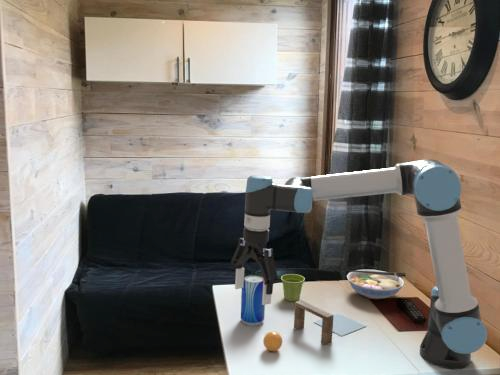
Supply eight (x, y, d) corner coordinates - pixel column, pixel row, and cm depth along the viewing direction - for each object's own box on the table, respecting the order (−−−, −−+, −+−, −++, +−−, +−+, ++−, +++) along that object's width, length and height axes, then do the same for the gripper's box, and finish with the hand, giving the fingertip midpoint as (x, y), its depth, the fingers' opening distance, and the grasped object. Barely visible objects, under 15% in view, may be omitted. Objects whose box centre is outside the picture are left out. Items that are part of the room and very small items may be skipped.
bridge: (299, 325, 184) (301, 299, 183) (331, 342, 173) (333, 315, 171) (293, 328, 182) (295, 301, 181) (325, 345, 171) (327, 317, 169)
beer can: (259, 328, 181) (261, 284, 179) (237, 324, 184) (238, 281, 181) (267, 318, 189) (268, 276, 186) (245, 314, 192) (246, 273, 189)
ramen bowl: (342, 303, 205) (344, 283, 203) (343, 283, 227) (344, 265, 226) (408, 310, 201) (410, 290, 199) (402, 288, 223) (404, 270, 221)
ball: (285, 351, 166) (286, 333, 165) (271, 356, 162) (272, 338, 161) (273, 343, 171) (274, 326, 170) (259, 349, 167) (259, 331, 166)
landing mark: (366, 326, 185) (366, 326, 185) (341, 336, 177) (341, 335, 177) (338, 313, 195) (338, 313, 195) (313, 322, 187) (313, 322, 187)
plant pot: (302, 304, 203) (303, 283, 201) (278, 302, 205) (279, 280, 203) (304, 295, 212) (305, 275, 210) (281, 293, 214) (282, 272, 212)
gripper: (222, 219, 161) (219, 284, 165) (273, 240, 142) (268, 313, 146) (241, 216, 166) (238, 280, 170) (294, 237, 146) (288, 308, 150)
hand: (252, 295), depth 158 cm, fingers open, 13 cm apart
